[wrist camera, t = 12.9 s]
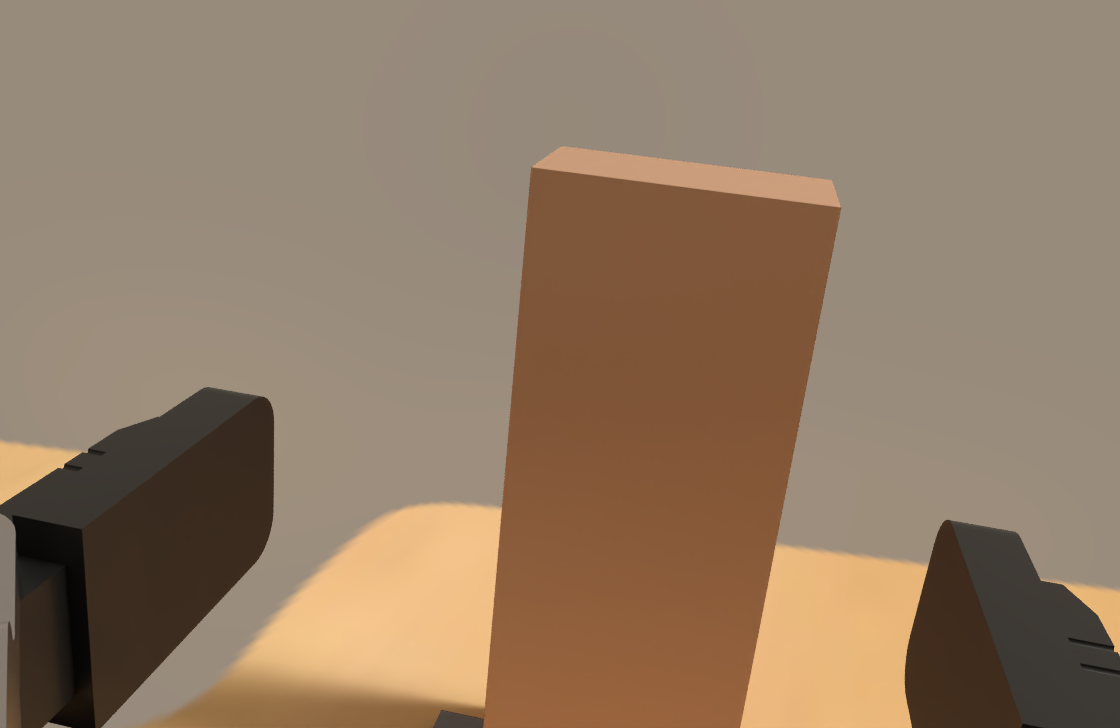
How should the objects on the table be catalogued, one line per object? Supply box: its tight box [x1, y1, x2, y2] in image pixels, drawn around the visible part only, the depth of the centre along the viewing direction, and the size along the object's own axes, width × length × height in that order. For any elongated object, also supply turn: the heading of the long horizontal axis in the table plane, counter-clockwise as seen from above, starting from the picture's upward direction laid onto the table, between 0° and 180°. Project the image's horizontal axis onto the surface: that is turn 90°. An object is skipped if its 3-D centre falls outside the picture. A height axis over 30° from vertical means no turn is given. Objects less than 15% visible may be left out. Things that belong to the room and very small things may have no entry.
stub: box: [483, 146, 841, 728], centre depth 22 cm, size 6×3×14 cm, turn 79°
